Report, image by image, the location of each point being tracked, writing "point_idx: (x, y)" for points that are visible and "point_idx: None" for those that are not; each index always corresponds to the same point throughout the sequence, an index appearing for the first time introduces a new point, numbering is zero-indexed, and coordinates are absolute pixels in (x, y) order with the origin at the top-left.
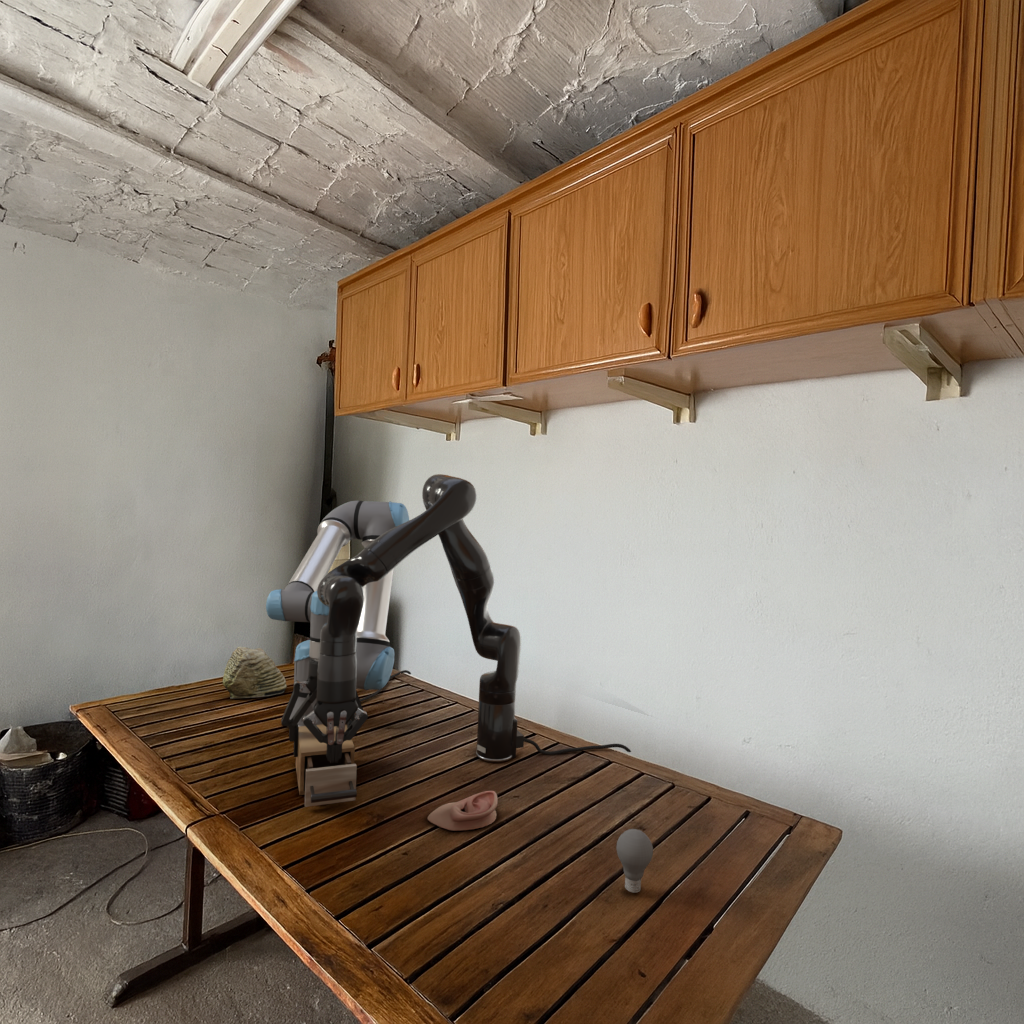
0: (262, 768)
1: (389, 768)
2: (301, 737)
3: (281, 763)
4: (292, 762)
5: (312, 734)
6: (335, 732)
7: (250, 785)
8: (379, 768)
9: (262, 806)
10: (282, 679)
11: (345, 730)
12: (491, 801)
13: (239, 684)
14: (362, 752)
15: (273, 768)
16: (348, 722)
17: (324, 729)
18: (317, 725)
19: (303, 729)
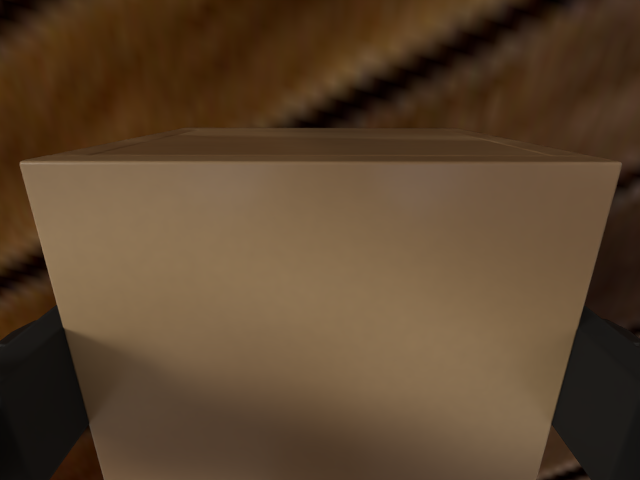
0: (5, 126)
1: (634, 298)
2: (121, 457)
3: (100, 82)
4: (163, 84)
5: (215, 416)
6: (427, 424)
7: (4, 306)
8: (590, 287)
9: (98, 465)
10: None
11: (530, 402)
12: None
13: None
14: (596, 41)
15: (67, 143)
16: (616, 457)
17: (336, 331)
18: (269, 188)
19: (113, 276)
